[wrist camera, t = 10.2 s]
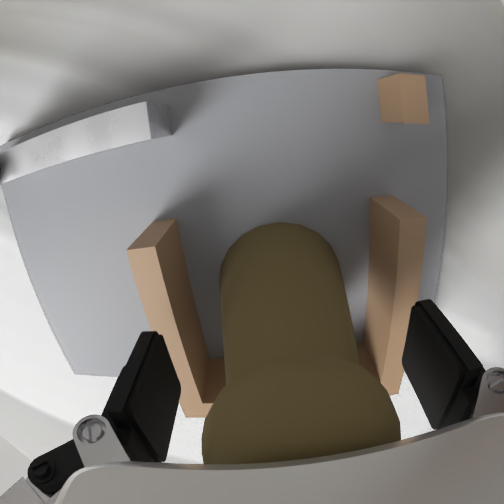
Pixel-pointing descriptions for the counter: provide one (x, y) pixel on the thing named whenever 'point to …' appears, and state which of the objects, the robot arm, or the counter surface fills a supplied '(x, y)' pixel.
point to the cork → (290, 356)
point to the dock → (239, 214)
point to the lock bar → (86, 138)
